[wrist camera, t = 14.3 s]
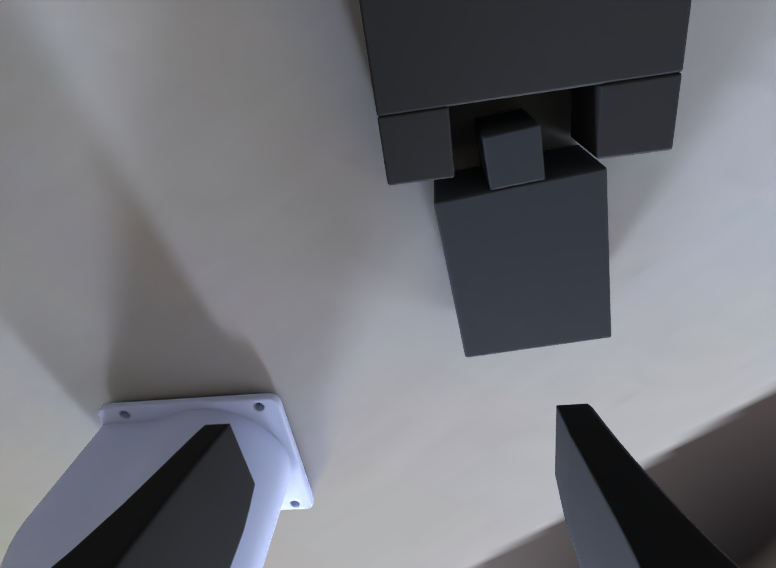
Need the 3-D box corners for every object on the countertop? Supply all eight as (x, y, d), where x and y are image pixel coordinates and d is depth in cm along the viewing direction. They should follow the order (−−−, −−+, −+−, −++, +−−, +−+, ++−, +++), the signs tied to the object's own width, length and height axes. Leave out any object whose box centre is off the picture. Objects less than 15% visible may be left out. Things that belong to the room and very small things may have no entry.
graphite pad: (461, 313, 20) (465, 358, 17) (424, 129, 16) (422, 150, 14) (586, 294, 19) (611, 338, 16) (576, 94, 15) (606, 108, 13)
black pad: (394, 161, 17) (387, 186, 14) (352, -127, 13) (333, -164, 10) (632, 129, 16) (673, 150, 13) (661, -195, 12) (726, -257, 9)
